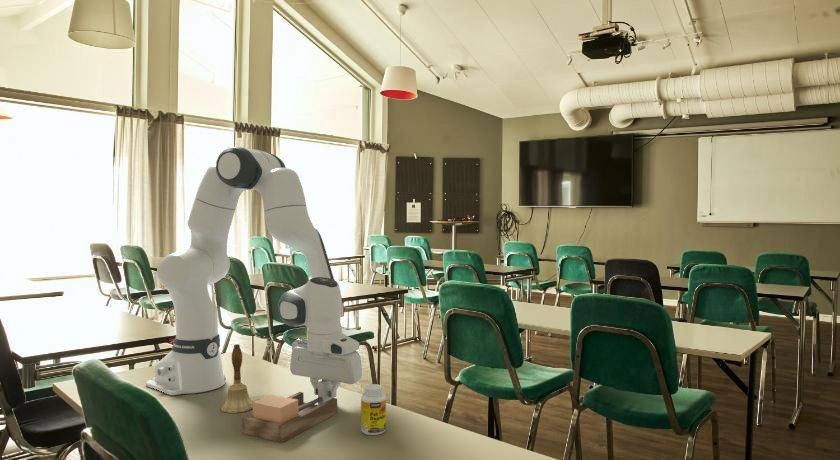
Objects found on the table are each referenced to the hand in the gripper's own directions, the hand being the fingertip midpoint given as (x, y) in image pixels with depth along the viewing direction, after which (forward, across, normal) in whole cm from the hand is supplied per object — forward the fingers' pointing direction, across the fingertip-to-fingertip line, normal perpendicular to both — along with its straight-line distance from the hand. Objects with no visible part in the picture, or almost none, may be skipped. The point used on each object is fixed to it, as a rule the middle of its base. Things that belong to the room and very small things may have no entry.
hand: (325, 395), depth 148 cm
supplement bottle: (+3, +20, -9) cm, 22 cm away
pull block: (+2, 0, -10) cm, 10 cm away
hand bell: (+3, -19, -11) cm, 22 cm away
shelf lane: (+2, 0, -13) cm, 13 cm away
